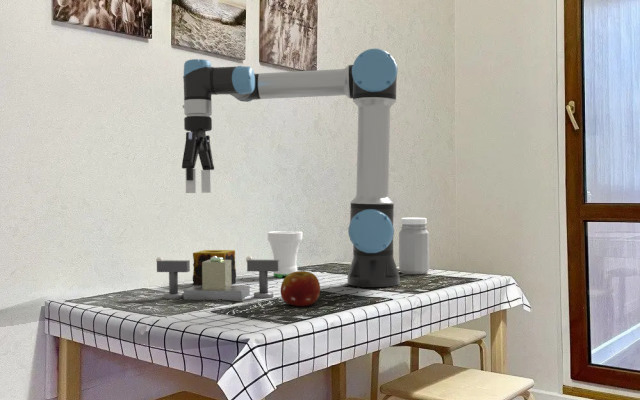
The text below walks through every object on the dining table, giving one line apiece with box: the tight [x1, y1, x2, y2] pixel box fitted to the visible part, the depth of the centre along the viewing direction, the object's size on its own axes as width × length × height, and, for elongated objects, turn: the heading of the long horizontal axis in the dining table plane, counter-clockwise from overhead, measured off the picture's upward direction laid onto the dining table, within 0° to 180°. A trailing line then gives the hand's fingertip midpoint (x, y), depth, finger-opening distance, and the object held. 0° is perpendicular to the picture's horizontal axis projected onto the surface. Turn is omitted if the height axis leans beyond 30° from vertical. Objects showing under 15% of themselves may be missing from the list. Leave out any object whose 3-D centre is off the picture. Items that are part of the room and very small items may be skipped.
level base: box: [183, 256, 251, 301], centre depth 175 cm, size 15×9×11 cm, turn 83°
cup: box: [267, 230, 304, 279], centre depth 215 cm, size 11×11×14 cm
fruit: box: [280, 270, 321, 307], centre depth 162 cm, size 10×9×8 cm
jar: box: [398, 217, 430, 275], centre depth 222 cm, size 10×10×18 cm
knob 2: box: [245, 255, 279, 299], centre depth 174 cm, size 8×5×10 cm, turn 83°
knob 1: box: [155, 256, 191, 300], centre depth 174 cm, size 8×5×10 cm, turn 83°
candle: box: [192, 249, 237, 286], centre depth 197 cm, size 10×10×10 cm
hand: (199, 193), depth 188 cm, fingers open, 13 cm apart
